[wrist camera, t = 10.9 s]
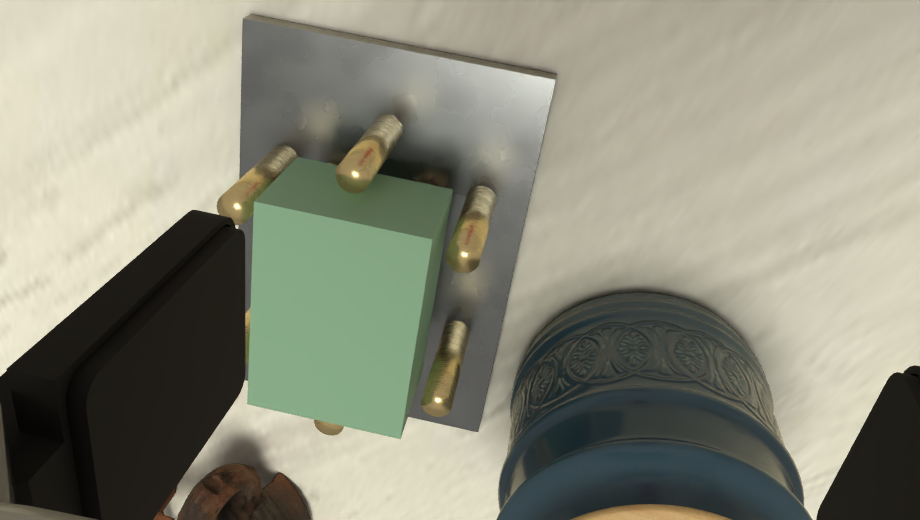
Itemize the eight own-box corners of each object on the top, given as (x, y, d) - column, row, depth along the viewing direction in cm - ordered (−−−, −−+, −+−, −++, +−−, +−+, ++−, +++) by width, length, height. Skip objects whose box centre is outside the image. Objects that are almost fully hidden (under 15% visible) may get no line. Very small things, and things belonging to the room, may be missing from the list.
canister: (528, 484, 45) (496, 810, 30) (499, 293, 39) (441, 572, 24) (761, 481, 43) (860, 837, 27) (766, 276, 37) (895, 578, 21)
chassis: (556, 74, 34) (549, 121, 28) (480, 420, 43) (462, 513, 37) (251, 14, 35) (179, 47, 29) (242, 367, 44) (186, 449, 38)
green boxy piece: (453, 189, 33) (432, 239, 29) (422, 372, 38) (400, 439, 34) (297, 157, 34) (254, 201, 29) (286, 341, 39) (247, 404, 34)
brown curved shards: (322, 562, 52) (225, 664, 47) (228, 480, 55) (128, 565, 50) (319, 467, 44) (200, 577, 38) (208, 377, 47) (87, 467, 42)
